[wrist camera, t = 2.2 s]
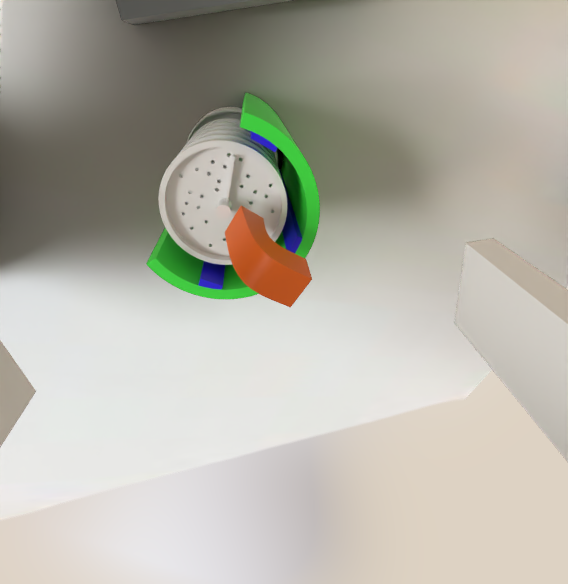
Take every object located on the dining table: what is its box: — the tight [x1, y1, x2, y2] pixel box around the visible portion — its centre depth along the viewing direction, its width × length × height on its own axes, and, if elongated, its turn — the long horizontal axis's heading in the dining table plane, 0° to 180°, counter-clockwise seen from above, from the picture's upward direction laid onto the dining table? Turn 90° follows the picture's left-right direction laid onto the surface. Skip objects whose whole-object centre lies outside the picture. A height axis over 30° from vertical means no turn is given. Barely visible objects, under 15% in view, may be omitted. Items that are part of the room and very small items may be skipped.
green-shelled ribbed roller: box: [147, 93, 320, 307], centre depth 22 cm, size 9×8×18 cm
